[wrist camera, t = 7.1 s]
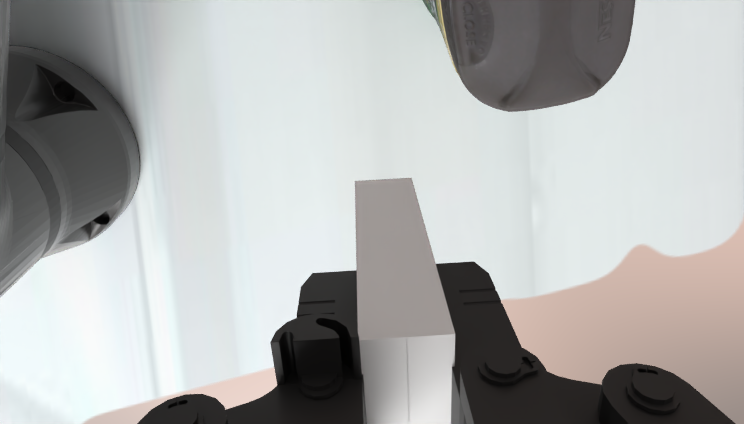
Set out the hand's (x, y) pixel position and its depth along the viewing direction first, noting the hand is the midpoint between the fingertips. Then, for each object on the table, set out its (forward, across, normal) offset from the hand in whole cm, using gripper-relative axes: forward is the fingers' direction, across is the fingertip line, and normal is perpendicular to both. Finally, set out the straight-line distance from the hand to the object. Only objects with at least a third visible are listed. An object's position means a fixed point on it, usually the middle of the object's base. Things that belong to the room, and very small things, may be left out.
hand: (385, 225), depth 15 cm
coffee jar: (+27, +7, +7) cm, 29 cm away
